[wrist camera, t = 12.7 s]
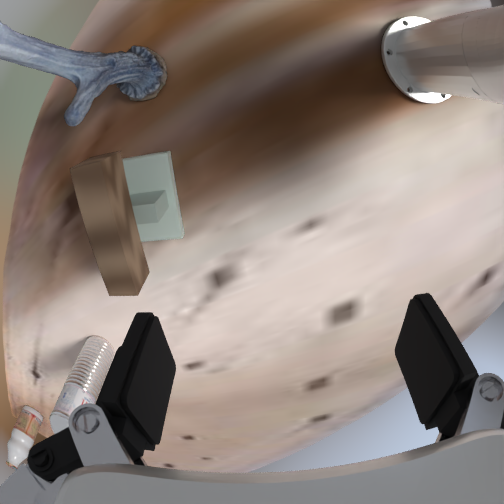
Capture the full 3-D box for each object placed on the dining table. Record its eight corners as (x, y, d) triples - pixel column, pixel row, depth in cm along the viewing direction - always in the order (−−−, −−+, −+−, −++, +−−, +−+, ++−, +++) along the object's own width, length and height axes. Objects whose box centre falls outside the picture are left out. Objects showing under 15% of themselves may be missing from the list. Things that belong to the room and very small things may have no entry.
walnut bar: (91, 157, 30) (69, 168, 26) (120, 150, 30) (100, 161, 26) (123, 273, 38) (109, 295, 34) (149, 272, 38) (137, 295, 34)
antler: (179, 69, 31) (61, 46, 10) (141, 117, 34) (3, 169, 12) (117, 26, 27) (-24, -9, 6) (83, 73, 30) (-66, 90, 9)
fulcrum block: (170, 150, 36) (154, 162, 31) (184, 233, 42) (174, 257, 37) (92, 165, 37) (68, 178, 31) (111, 239, 43) (93, 262, 37)
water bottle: (89, 329, 53) (40, 431, 31) (118, 344, 55) (77, 450, 33) (85, 347, 56) (42, 441, 34) (112, 361, 58) (76, 458, 36)
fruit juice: (46, 417, 81) (24, 474, 57) (39, 419, 84) (19, 472, 60) (27, 403, 77) (2, 460, 53) (21, 406, 80) (-2, 459, 56)
